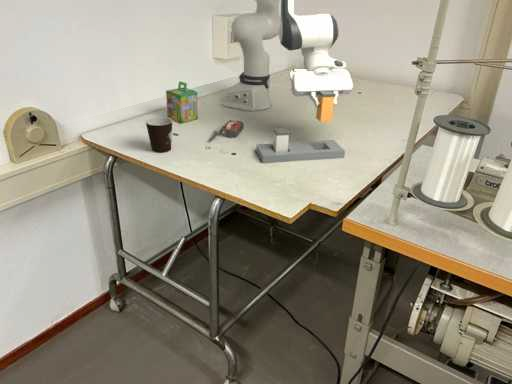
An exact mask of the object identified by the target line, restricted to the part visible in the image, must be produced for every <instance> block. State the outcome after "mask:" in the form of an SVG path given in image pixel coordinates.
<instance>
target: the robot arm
mask: <svg viewBox="0 0 512 384" xmlns="http://www.w3.org/2000/svg"><path fill="white" fill-rule="evenodd" d="M254 1H255V2H256V10H255V12H251V13H250V12H249V13H244V14H241V15H238V16H236V17H235V18H234V19H233V20H232V23H231V34H232V37H233V38H234V39H235V40H236V41H237V42H238V43H239V45H240V48H241V50H242V55H243V72H241V74H240V75H238V80H239V81H238V82H237V83H235V84H234V85H233V86H232V87H230V88H229V90H227V94H226V98H224V99H223V100H222V102H221V106H222V107H227V108H230V109H231V108H232V109H235V110H242V111H246V112H252V111H253V112H254V111H259V110H260V111H263V110H267V109H269V108H271V107H272V104H271V99H270V85H271V84H270V83H271V78H270V77H271V76H270V55H269V54H268V52H266V51H265V49H264V48H265V47H264V45H263V41H267V40H268V41H269V40H272V39H274V38H276V37H278V39H279V41H280V42H279V43H280V44H281V46H282V47H283V48H284V49H286V50H288V51H295V50H300V52H301V55H302V56H303V67H304V68H293V69H292V70H290V71H289V80H290V82H291V93H292V96H294V97H309V99H310V100H311V101H312V102H313V104H314V107H315V108H317V107H320V106H321V103H320V100H318V93H319V91H332V92H333V93H335V100H334V107H336V106H337V104H338V102H337V98H338V96H339V95H340V96H343V95H349V94H350V93H352V90H353V89H354V82H353V80H352V77H351V74H350V71H349V70H347V62H345V61H342V60H340V59H336V58H334V57H331V56H330V54H329V49H331V48H332V47H333V45H334V44H335V43H336V42H337V40H338V38H339V26H338V21H337V20H336V18H335V16H333V15H332V14H331V13H317V14H315V13H313V14H306V15H305V14H304V15H299V14H295V0H254ZM279 5H280V8H279ZM279 9H280V11H279ZM279 12H280V13H279Z"/></svg>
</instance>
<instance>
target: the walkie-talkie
mask: <svg viewBox="0 0 512 384" xmlns="http://www.w3.org/2000/svg"><path fill="white" fill-rule="evenodd" d="M244 127H245V126H244V122H243V121H241V120H235V119H234V120H233V119H230V120H227V122H226V123H225V124H224V125H220V126H218V127H216V129H214V130H213V134H212V136H210V138H209V139H208V141H209V142H212V141H213V140H214V139H215V138H216V137H217V136H218V137H222V136H223V137H224V138H231V139H237V137H239V135H240V133H242V131H243V130H244V129H243V128H244ZM242 129H243V130H242ZM223 137H222V138H223Z"/></svg>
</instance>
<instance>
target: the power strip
mask: <svg viewBox="0 0 512 384" xmlns="http://www.w3.org/2000/svg"><path fill="white" fill-rule="evenodd" d="M255 148H256V150H255V151H256V153H257V155H258V157H259V158H260V160H261V162H262V164H269V163H270V164H272V163H273V164H274V163H284V162H285V163H286V162H297V161H298V162H301V161H317V160H330V159H331V160H333V159H343V158H345V153H346V150H345V149H344V148H343V147H342V146H341V145H340V144H339V143H338V142H336V140H334V139H325V140H311V141H310V140H309V141H307V140H306V141H292V142H290V141H288V152H275V153H274V151H273V142H272V143H257V144H256V147H255Z"/></svg>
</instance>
